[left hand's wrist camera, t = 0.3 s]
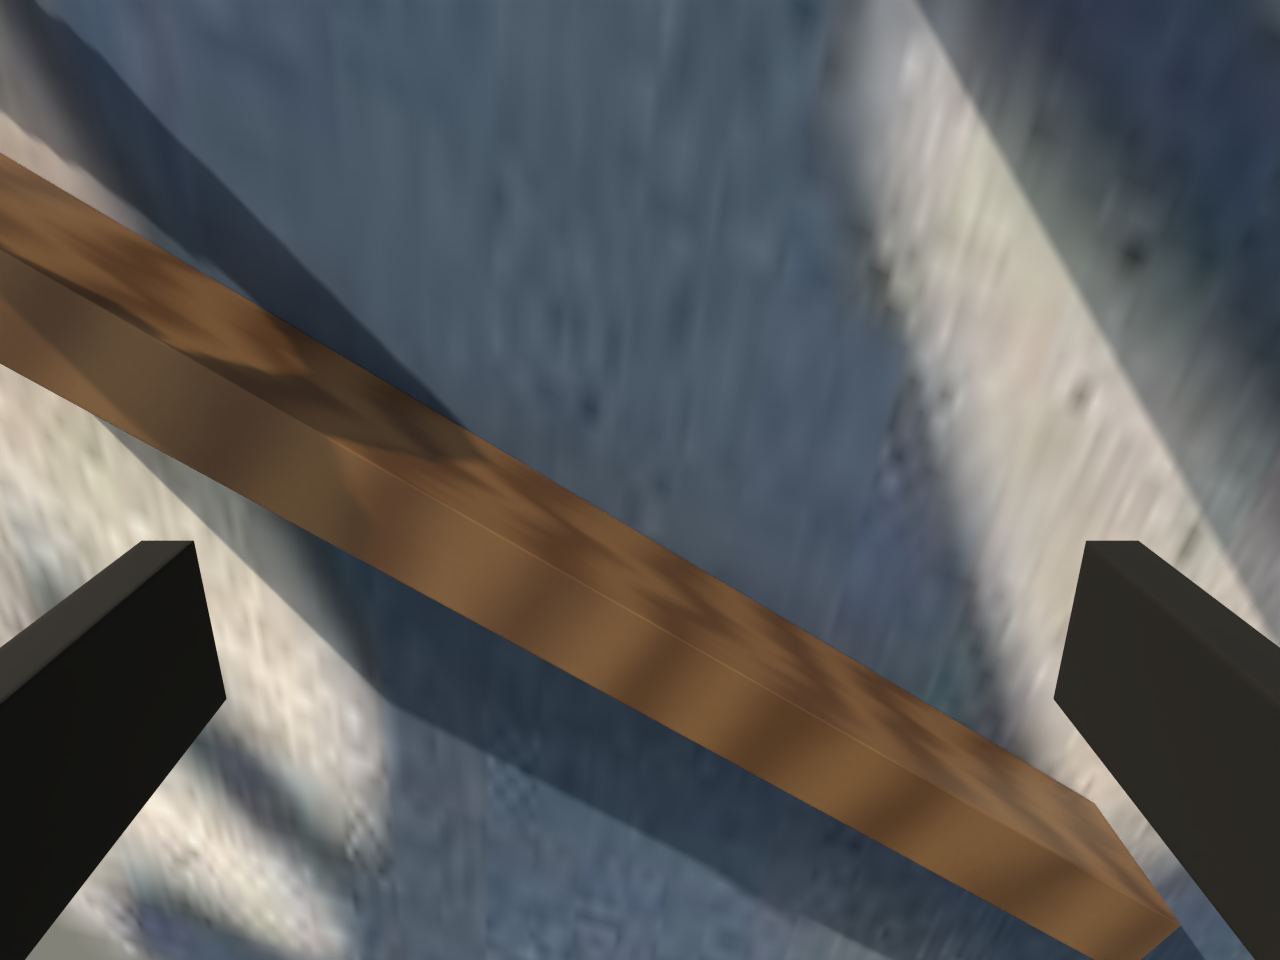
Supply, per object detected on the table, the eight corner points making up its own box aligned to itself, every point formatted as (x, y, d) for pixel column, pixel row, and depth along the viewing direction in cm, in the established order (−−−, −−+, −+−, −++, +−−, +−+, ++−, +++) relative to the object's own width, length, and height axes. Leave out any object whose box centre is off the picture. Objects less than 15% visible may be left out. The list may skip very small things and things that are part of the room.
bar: (-189, 142, 36) (-419, 136, 28) (-164, 54, 34) (-397, 22, 27) (1046, 848, 49) (1122, 976, 42) (1094, 803, 48) (1182, 925, 40)
